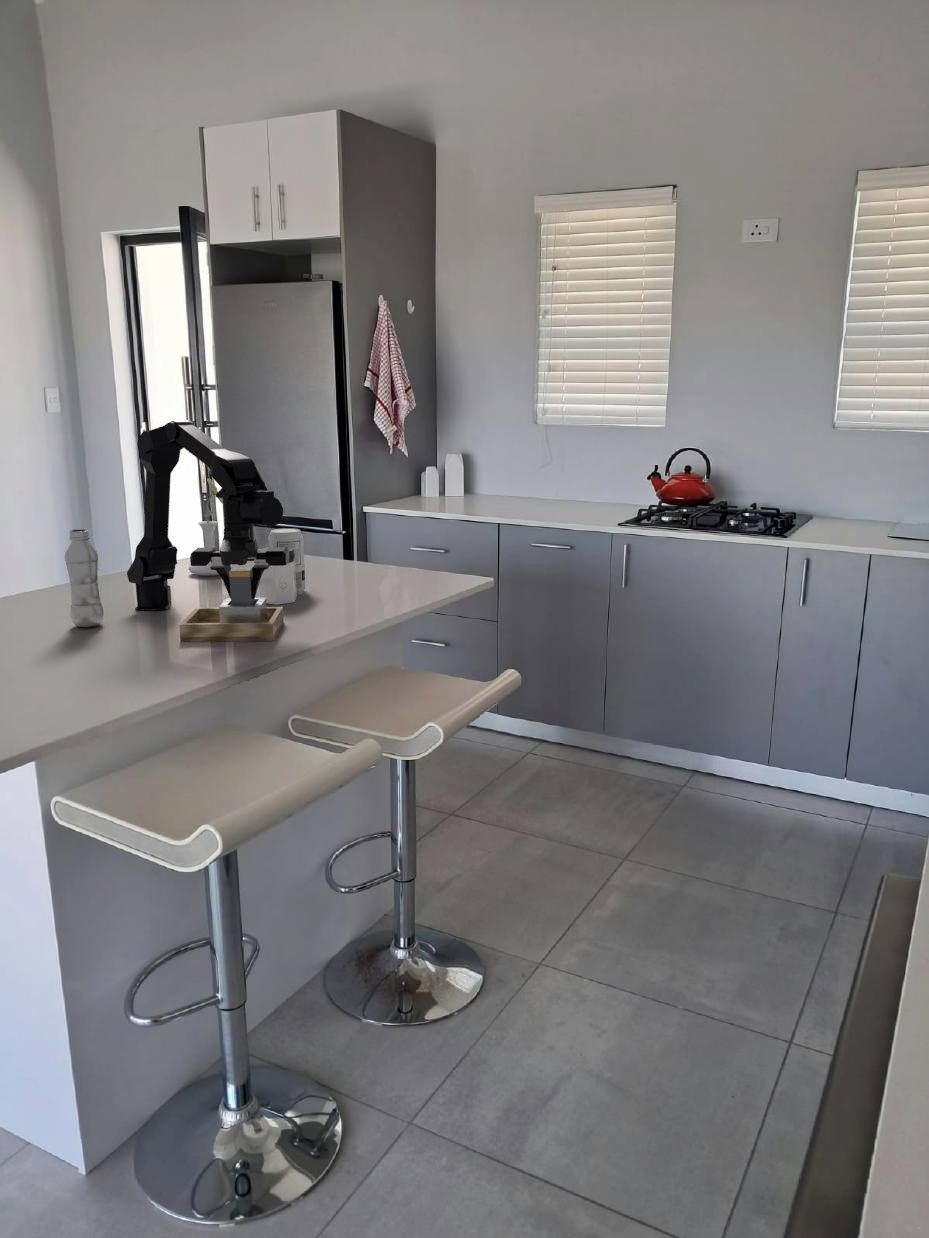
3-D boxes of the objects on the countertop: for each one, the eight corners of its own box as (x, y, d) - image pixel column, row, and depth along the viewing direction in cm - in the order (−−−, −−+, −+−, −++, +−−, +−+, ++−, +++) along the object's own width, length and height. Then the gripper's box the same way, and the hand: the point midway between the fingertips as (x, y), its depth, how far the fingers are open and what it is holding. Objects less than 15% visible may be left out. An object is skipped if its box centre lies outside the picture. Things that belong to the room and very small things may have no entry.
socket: (221, 636, 185) (219, 606, 183) (228, 626, 192) (227, 597, 191) (261, 635, 185) (259, 606, 184) (267, 625, 193) (266, 597, 191)
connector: (231, 610, 186) (228, 571, 184) (235, 605, 190) (232, 567, 188) (251, 610, 186) (249, 571, 184) (255, 605, 190) (253, 567, 188)
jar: (267, 606, 209) (264, 554, 206) (253, 599, 216) (251, 548, 213) (303, 601, 214) (301, 550, 211) (289, 595, 221) (287, 545, 218)
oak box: (180, 641, 180) (179, 624, 180) (196, 623, 194) (195, 607, 193) (273, 641, 181) (272, 623, 181) (283, 623, 195) (282, 606, 194)
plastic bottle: (73, 631, 188) (63, 533, 183) (70, 624, 193) (60, 529, 188) (107, 628, 191) (97, 531, 186) (102, 620, 196) (93, 527, 191)
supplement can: (264, 594, 222) (261, 532, 218) (283, 587, 229) (280, 527, 225) (293, 597, 219) (290, 534, 215) (311, 590, 226) (309, 529, 222)
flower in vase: (227, 578, 239) (221, 481, 232) (183, 578, 239) (176, 481, 233) (239, 569, 251) (234, 476, 245) (198, 568, 251) (191, 476, 245)
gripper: (180, 528, 175) (186, 608, 179) (280, 528, 176) (283, 607, 180) (194, 519, 186) (199, 595, 190) (288, 519, 187) (291, 594, 191)
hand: (242, 598), depth 187 cm, fingers closed on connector, 4 cm apart
